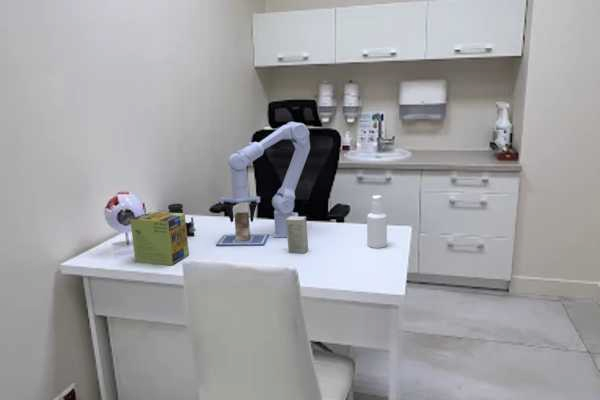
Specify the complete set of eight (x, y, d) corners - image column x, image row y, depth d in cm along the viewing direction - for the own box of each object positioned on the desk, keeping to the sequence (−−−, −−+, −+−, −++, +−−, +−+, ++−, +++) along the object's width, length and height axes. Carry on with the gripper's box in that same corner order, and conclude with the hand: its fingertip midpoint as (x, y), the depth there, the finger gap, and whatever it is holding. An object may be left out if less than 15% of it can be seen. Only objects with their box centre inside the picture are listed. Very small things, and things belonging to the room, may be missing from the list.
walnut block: (249, 224, 178) (248, 212, 177) (247, 228, 174) (246, 215, 173) (237, 225, 179) (236, 212, 178) (235, 228, 175) (234, 215, 173)
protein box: (173, 265, 155) (168, 221, 152) (134, 262, 160) (129, 219, 157) (190, 255, 165) (185, 212, 161) (153, 251, 170) (148, 210, 166)
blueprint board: (269, 235, 183) (268, 234, 183) (264, 245, 171) (264, 244, 171) (224, 236, 184) (224, 234, 184) (216, 246, 173) (216, 244, 173)
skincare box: (308, 249, 165) (307, 216, 162) (304, 253, 161) (303, 219, 158) (291, 248, 167) (290, 215, 164) (287, 252, 163) (285, 218, 160)
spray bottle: (388, 243, 168) (388, 194, 164) (383, 249, 162) (383, 199, 158) (370, 241, 171) (370, 193, 167) (364, 247, 165) (364, 198, 161)
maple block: (250, 237, 180) (249, 224, 179) (248, 241, 175) (247, 228, 174) (238, 237, 180) (237, 225, 179) (236, 241, 176) (235, 228, 175)
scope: (193, 201, 184) (178, 208, 175) (196, 235, 187) (182, 243, 178) (175, 201, 187) (160, 207, 178) (179, 233, 190) (164, 241, 181)
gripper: (217, 188, 170) (220, 224, 173) (256, 187, 168) (259, 223, 171) (222, 184, 176) (225, 219, 180) (260, 183, 175) (262, 218, 178)
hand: (242, 221), depth 176 cm, fingers open, 7 cm apart
